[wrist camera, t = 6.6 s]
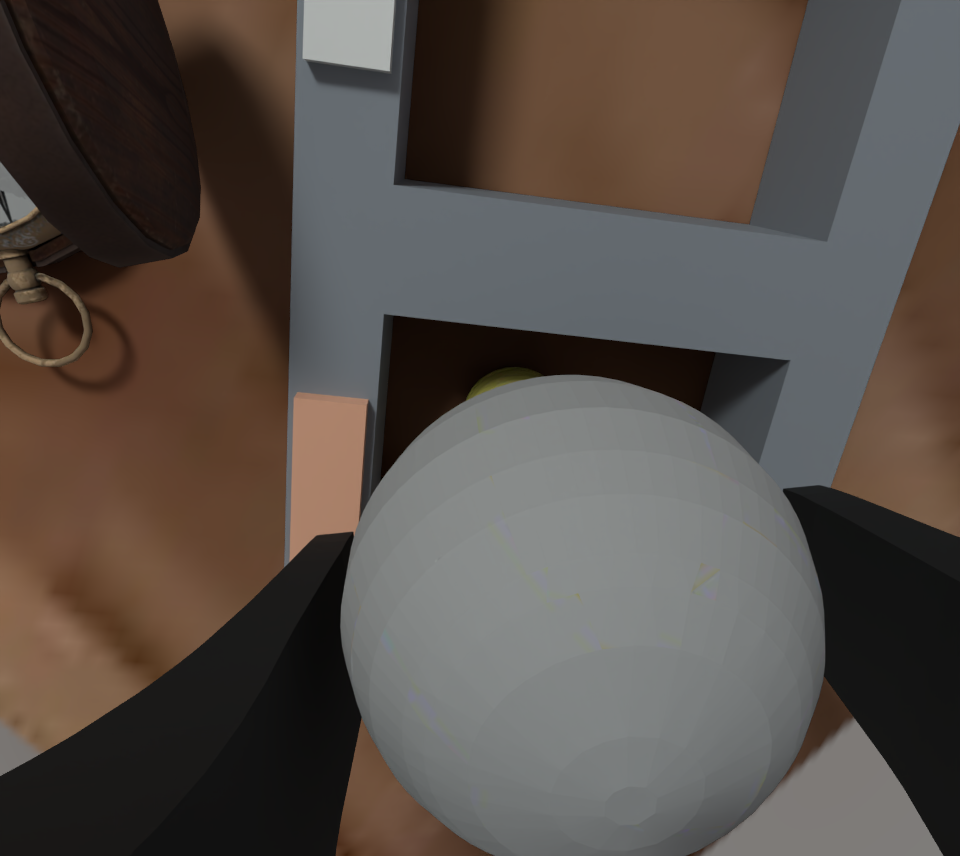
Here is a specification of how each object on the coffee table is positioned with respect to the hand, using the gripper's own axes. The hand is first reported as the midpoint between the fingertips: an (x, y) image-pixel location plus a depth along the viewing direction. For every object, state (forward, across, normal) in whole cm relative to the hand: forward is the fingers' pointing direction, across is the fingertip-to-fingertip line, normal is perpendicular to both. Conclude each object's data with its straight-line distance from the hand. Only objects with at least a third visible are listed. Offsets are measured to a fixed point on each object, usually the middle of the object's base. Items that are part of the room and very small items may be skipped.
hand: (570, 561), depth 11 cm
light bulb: (+5, 0, -1) cm, 5 cm away
